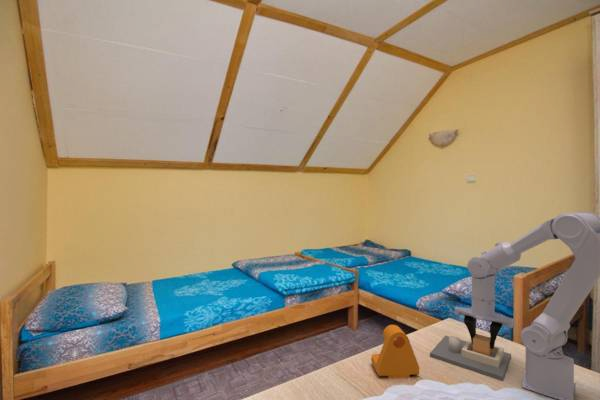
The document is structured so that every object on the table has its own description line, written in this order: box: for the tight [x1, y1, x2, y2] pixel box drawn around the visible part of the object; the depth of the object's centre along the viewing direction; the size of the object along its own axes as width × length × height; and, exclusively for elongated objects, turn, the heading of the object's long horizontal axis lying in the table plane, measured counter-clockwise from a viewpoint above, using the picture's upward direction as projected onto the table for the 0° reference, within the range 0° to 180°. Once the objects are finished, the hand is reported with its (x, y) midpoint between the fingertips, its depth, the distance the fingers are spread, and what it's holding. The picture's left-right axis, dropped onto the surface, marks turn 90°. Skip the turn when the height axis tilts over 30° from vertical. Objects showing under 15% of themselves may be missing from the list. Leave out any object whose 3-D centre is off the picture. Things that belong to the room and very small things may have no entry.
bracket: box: [371, 324, 420, 379], centre depth 83 cm, size 11×7×12 cm, turn 94°
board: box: [429, 335, 512, 381], centre depth 90 cm, size 18×15×4 cm
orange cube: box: [473, 333, 492, 356], centre depth 88 cm, size 4×4×4 cm
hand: (482, 345), depth 88 cm, fingers closed on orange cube, 4 cm apart
